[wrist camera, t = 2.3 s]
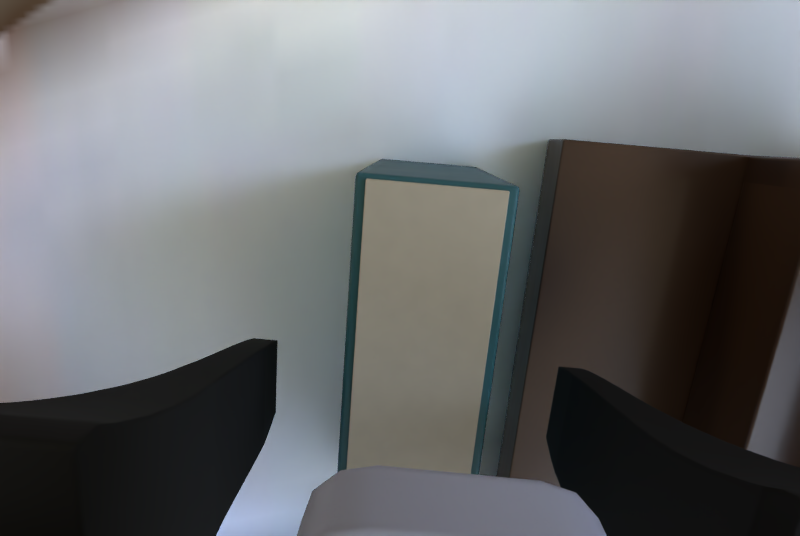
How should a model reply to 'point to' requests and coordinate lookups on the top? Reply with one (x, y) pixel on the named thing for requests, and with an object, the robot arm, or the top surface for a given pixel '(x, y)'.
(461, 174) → the book
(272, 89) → the top surface
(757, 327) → the step shelf
